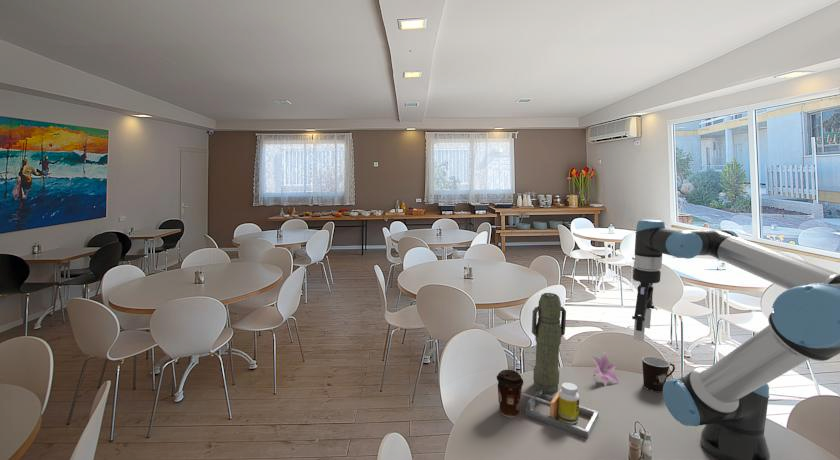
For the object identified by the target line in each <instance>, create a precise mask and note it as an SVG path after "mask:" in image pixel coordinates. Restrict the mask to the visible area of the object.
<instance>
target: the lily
mask: <svg viewBox="0 0 840 460" xmlns="http://www.w3.org/2000/svg"><path fill="white" fill-rule="evenodd" d="M591 358H592V359H593V361H594V363H595V365H596V367H595V368H594V370H593V371H592V373H593V377H595V376H597V377H601V379H602V382H603V385H604V387H607V385H608V381H609V380H610V381H612V382H614V383H616V384H620V381H619V379H618V377H617V375H616V373H615V372H614V370H615V368H616V365H615V364H613V363H610V360H609V357H608V354H607V352H606V351H605V350H604V351H603V352H602V354H601V357H600V359H599V358H597V357H596V356H591Z"/></svg>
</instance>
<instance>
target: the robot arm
mask: <svg viewBox="0 0 840 460" xmlns="http://www.w3.org/2000/svg"><path fill="white" fill-rule="evenodd" d="M636 223H637V224H636V228H635V239H634V240H635V243H634V256H632V258H631V259H632V260H633V266H634V267H633V268H632V269H633V270H632V279H633V280H634V281H635V282H640V284H639V285H638V286H637V289H636V290H637V295H636V303H635V311H634V316H633V315H632V318H631V319H632V320H634V328H633V337H632V338H633V340H635V341H640V342H644V341H645V331H646V329H649V330H650V329H651V321H652V320H651V318H652V310H653V309H654V308H655V305H653V304H654V303H653V293H654V292H653V291H654V285H653V284H659V283H660V282H661V274H662V272H661V269H662V265H663V264H662V263H663V254H664V255H667V256H672V257H675V258H678V259H687V260H688V259H693V258H695V257H696V256H709V257H710V256H711V257H713V258H715V259H718V260H720V261H721V262H722V261H723V262H725V263H727V264H729V265H731V266H734V267H736V268H738V269H740V270H743V271H745V272H747V273H750V274H752V275H754V276H756V277H759V278H761V279H763V280H766V281H768V282H770V283H772V284H775V285H776V286H779V287H782V288H783V289H786V290H784V291H783V292H782V293H780V294H779V295H778V296H777V297H776V298H775V300H774V301H773V303H772V306H771V308H772V309H773V310H772V312H771V313H770V314H769V315H768V324H769V325H767V326H765V327H764V328H763V329H762V330H760V331H759V332H757V333H755V335H753V336H751V338H749V339H747V340H746V341H745V342H743V343H742V344H740V345H739V346H738V347H736V348H735V349H733V350H732V351H730V352H729V353H728V354H727V355H725V356H723V357H721V359H719V360H718V361H716V362H715V363H713V364H712V365H711V366H710V367H703V366H701V367H697V368H694V369H693V370H692V371H690V372H689V373H687V374H686V375H685V376H682V377H679V378H676V377H674V378H671V379H668V380H666V382H665V384H664V386H663V391H662V395H663V397H662V398H663V402H664V403H665V406H666V408H667V410H668V412H669V414H670V415H671V416H672V418H673V419H675V421H677V422H679V423H680V424H681V425H683V426H686V427H699V426H704V427H703V428H702V431H701V432H700V444H701V447H703V449H704V450H705V451H707V453H709V454H711V456H713V457H715V458H716V459H718V460H771V453H770V451H769V447H768V444H767V439H766V437H765V429H766V421H767V413H768V405H769V398H770V386H769V383H771V382H772V381H773V380H775V379H777V378H780V377H781V376H783V375H784V374H787V373H788V372H790V371H791V370H792V369H794V368H796V367H799V366H800V365H803V363H805V362H807V361H809V360H811V361H816V362H824V361H825V362H826V361H828V360H830V359H832V358H834V357H836V356H837V355H839V354H840V273H839V272H835V271H833V270H829V269H827V268H824V267H821V266H819V265H816V264H813V263H810V262H808V261H805V260H802V259H799V258H796V257H794V256H790V255H788V254H784V253H783V252H779V251H777V250H775V249H771V248H768V247H765V246H763V245H760V244H757V243H755V242H752V241H749V240H746V239H743V238H740V236H739V235H738V234H737V233H736V232H735V231H733V230H730V229H724V228H716V229H671V228H666V225H665V224H666V223H665V221H663V220H660V219H640V220H638V221H637V222H636Z"/></svg>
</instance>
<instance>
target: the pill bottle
mask: <svg viewBox="0 0 840 460" xmlns="http://www.w3.org/2000/svg"><path fill="white" fill-rule="evenodd" d="M561 389H562V390H560V389H559V391H560V392H559V391H558V392H559V398H558V415H557V419H559V420H562V421H564V422H567V423H570V424H573V425H575V424H576V423H578V421H579V414H580V413H579V405H580V395H579V393H578V386H577V384H574V383H572V382H563V383H562V384H561Z"/></svg>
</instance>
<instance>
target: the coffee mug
mask: <svg viewBox="0 0 840 460" xmlns="http://www.w3.org/2000/svg"><path fill="white" fill-rule="evenodd" d="M641 361H642V375H643V376H642V377H643V379H642V380H643V387H644V386H645V387H646V388H645V387H644V388H645V389H647V388H648V389H647V390H649V389H650V390H649V391H651V390H653V391H652V392H655V391H662V392H663V386H664V384H665V382H666V381H667V379H668V377H670V376H671V375H672V374H673V373H674V372H675V370H676V366H675V364H673V363H670V362H668V361H667V360H665V359H663V358H660V357H657V356H651V355H650V356H649V355H648V356H647V355H646V356H644V357H642V358H641ZM670 366H672V369H671V371H670V373H669V370H670Z"/></svg>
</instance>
